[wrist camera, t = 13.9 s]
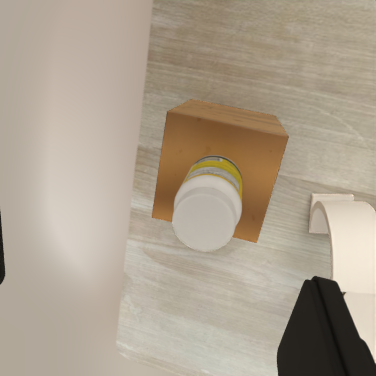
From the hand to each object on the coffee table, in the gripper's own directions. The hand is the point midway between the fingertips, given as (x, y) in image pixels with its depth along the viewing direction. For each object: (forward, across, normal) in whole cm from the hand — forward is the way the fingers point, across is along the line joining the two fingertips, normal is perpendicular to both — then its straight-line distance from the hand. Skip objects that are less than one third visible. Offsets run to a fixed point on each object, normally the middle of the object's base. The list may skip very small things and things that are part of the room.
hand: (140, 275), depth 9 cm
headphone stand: (+30, -15, +8) cm, 35 cm away
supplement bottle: (+18, -1, +3) cm, 19 cm away
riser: (+30, -1, +4) cm, 30 cm away
